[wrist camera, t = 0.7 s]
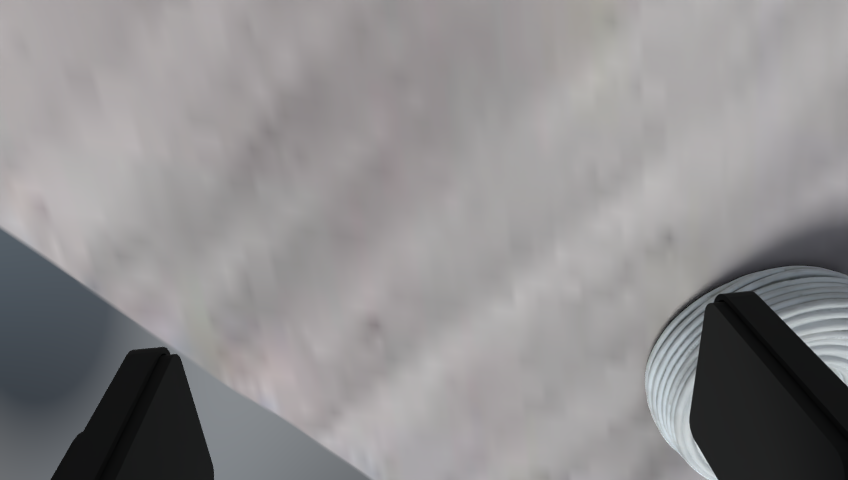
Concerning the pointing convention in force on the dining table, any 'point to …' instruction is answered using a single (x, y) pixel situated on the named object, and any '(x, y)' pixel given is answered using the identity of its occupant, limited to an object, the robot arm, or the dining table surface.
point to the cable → (789, 298)
